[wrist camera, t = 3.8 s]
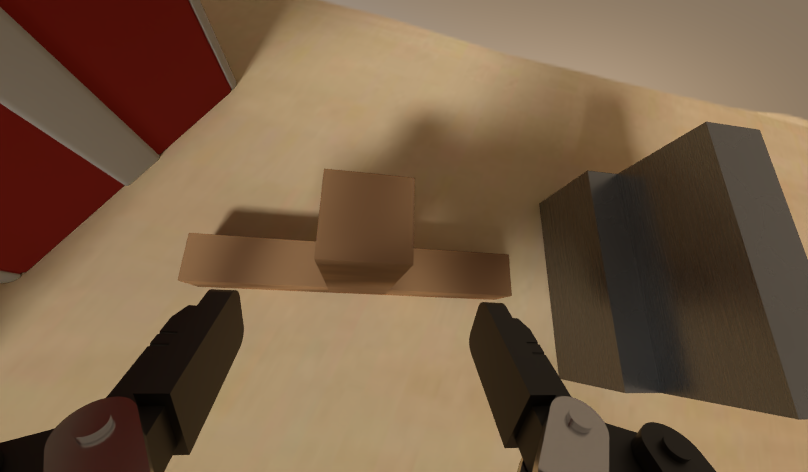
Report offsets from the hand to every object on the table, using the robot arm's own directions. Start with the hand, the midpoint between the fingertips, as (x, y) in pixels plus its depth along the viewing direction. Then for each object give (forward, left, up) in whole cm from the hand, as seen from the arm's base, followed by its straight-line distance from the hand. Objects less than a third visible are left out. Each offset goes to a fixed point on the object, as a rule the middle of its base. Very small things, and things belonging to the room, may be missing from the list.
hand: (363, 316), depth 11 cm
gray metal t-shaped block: (+13, +11, -9) cm, 19 cm away
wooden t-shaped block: (-2, +3, -9) cm, 9 cm away
